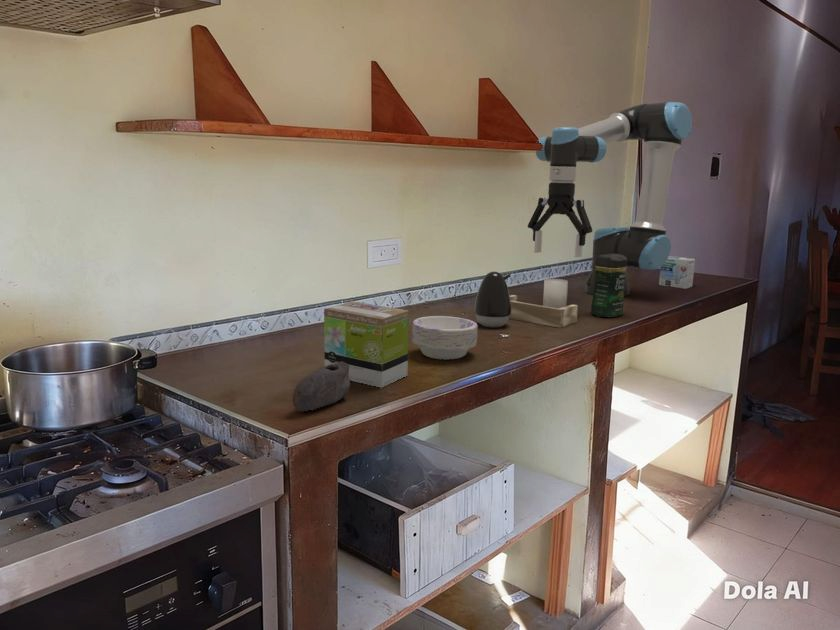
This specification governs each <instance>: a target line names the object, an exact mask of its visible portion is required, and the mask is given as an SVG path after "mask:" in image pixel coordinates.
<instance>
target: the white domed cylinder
mask: <svg viewBox="0 0 840 630" xmlns="http://www.w3.org/2000/svg"><path fill="white" fill-rule="evenodd" d="M568 287H569V281H568V280H566V279H562V278H561V279H560V278H547V279H544V280H543V297H542V306H547V307H554V308H562V307H565V306H568V305H567V301H568Z"/></svg>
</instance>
